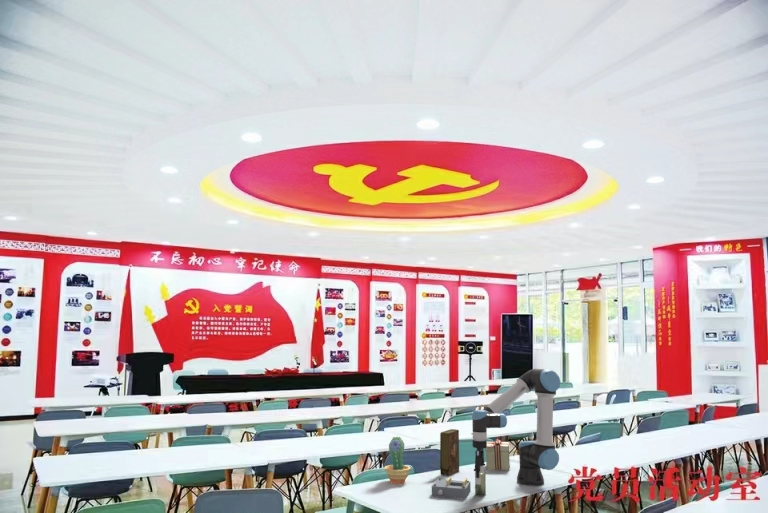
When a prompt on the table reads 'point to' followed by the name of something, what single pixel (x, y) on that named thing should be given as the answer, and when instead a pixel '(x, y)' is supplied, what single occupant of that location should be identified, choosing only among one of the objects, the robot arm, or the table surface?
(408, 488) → the table surface
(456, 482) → the grey shallow box
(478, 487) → the spout can
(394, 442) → the potted cactus
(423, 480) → the table surface
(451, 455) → the book
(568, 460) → the table surface
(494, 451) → the gift box
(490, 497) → the table surface
